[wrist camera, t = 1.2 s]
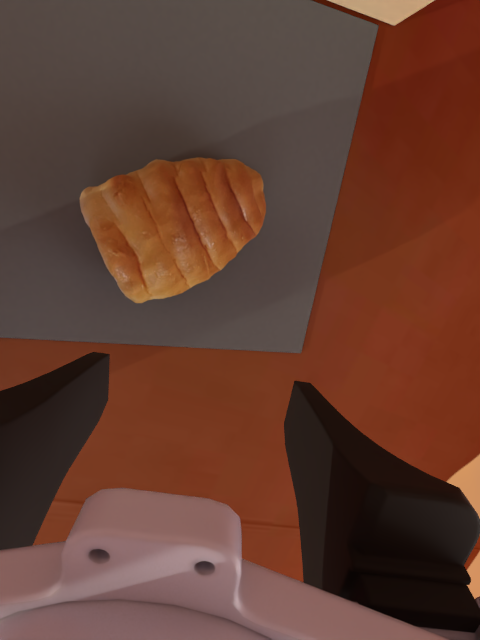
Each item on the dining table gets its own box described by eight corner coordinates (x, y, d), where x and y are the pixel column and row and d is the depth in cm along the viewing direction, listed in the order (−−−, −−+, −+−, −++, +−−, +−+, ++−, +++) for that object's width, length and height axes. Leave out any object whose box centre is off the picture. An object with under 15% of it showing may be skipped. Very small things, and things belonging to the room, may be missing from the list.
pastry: (236, 127, 20) (257, 115, 16) (274, 243, 22) (299, 255, 19) (70, 194, 19) (55, 197, 15) (132, 307, 21) (131, 331, 18)
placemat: (300, 352, 26) (301, 353, 26) (-32, 335, 20) (-33, 335, 20) (377, 25, 20) (378, 25, 20) (-63, -137, 14) (-64, -140, 14)
